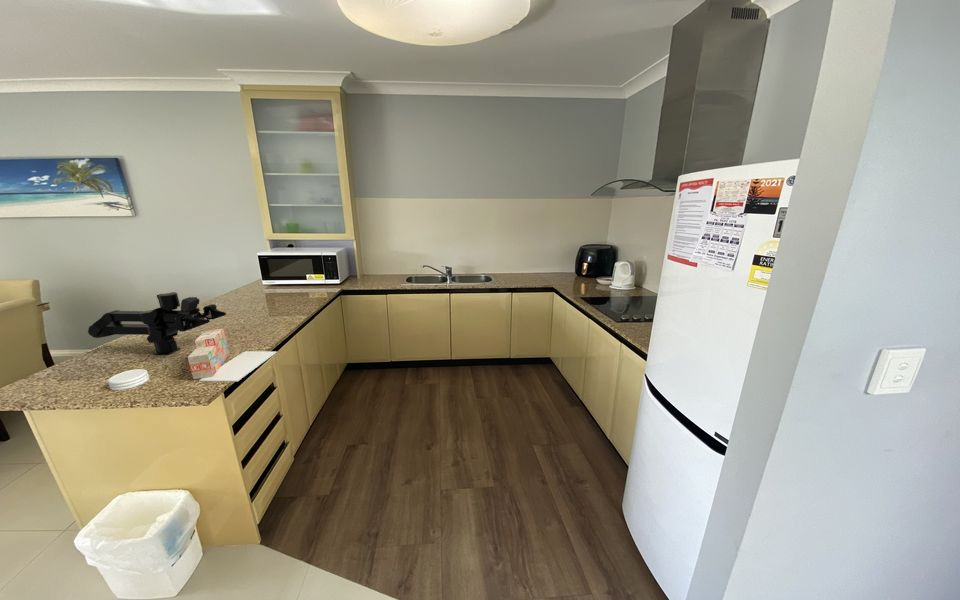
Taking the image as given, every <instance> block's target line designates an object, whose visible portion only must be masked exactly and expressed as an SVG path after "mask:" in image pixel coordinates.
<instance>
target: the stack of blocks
mask: <svg viewBox="0 0 960 600" xmlns="http://www.w3.org/2000/svg"><path fill="white" fill-rule="evenodd" d="M194 342H195V346H196V348H195V349H194V350H193V351H192V352H191V353H190V354H189V355H188V356H187V360H188V364H189V368H190V372H191V374H192V375H191V376H192V379H193V380H198V379H202V378H204V377H210V376H213V375H214V374H215V373H216V372H217V370H218V369H219V368H220V367H221V366H222V365H224V362H225V361H226V360H227V359H228V357H230V355H231V352H230V349H229V346H228V341H227V336H226V333H225V329H224V328H218V329H210V330H209V329H207V330H205V331H204V332H202V333H201V334H200V335H199V336H198V337H197V338H196V339H195V340H194Z"/></svg>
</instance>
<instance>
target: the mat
mask: <svg viewBox="0 0 960 600" xmlns="http://www.w3.org/2000/svg"><path fill="white" fill-rule="evenodd" d="M275 354H277V351H264V350H263V351H255V350H253V351H251V350H249V351H247V350H246V351H243V352H241V353H240V354H238V355H237V356H235V357H233V358H232V359H231V360H229V361H227V362H226V363H223V364H222V365H221V367H220V368H219V369H218V370H217V372H216V373H215V374H214V375H213V376H210V377H203V378H199V380H198V381H199V382H223V383H224V382H228V383H229V382H230V383H231V382H233V383H235V382H236V383H238V382H239V381H240V380H242V378H245V377H246V376H247V375H248V374H250V373H251V372H252V371H254V370H255V369H256V368H258V367H260V365H262V364H263V363H264V362H266V361H267V360H269V359H270V358H271V357H272V356H274V355H275Z"/></svg>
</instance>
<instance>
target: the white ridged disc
mask: <svg viewBox="0 0 960 600" xmlns="http://www.w3.org/2000/svg"><path fill="white" fill-rule="evenodd" d="M149 380H150V376H149V372H148V370H146V369H144V368H143V369H142V368H136V369H129V370H126V371H123V372H119V373H117V374H114V375H112V376H111V377H110V378H108V380H107V384H108V386H109V389H110V390H112V391H123V390H130V389H133V388H136V387H139V386H141V385H144V384H145V383H148V381H149Z"/></svg>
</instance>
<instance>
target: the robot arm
mask: <svg viewBox="0 0 960 600" xmlns="http://www.w3.org/2000/svg"><path fill="white" fill-rule="evenodd" d="M156 298H157V300H158V303H159V304H158V305H159V307H157V308H154V309H150V310H142V311H141V310H140V311H139V310H119V309H118V310H112V311H108V312H105V313H103V315H102V316H101V318H99V319H97V321H94V322H93V323H92V324H91V325H89V327H88V330H87V334H88V335H89V336H91V337H92V338H95V339H100V338H106V337H111V336H114V335H119V336H120V335H126V336H128V335H133V336H135V335H136V336H141V335H142V336H147V337H146V340H147V342H148V343H150V344H151V343H152V344H154V349H155V352H154V353H152V354H153V355H154V356H155V355H156V356H158V355H161V356H162V355H165V356H166V355H167V356H168V355H170V354H173V353H175V352H176V351H180V349H181V347H178V345H177V342H176V340H175V337H176V336H178V332H187V331H190V330H192V329H195V328H197V327H198V328H199V327H201V326H203V325H206V324H209V323H210V322H211V320H216V319H219V318H222V317H224V316H225V317H226V315H227V313H226V312H224V311H221V310H219V309H217V305H216V304H214V303H213V304H212V303H210V304H207V305H205V306H204V307H203V309H202V310H203V312H200V308H199V307H198V305H199V304H200V299H199V298H197V296H189V297H186V298H183V299H182V300H181V303H180V299H179V294H178V292H176V291H175V292H173V291H172V292H166V293H160V294H157V295H156ZM178 307H179V308H180V309H178ZM177 309H178V310H177ZM122 322H127V323H122ZM128 322H129V323H128ZM133 322H139V323H135V324H134V323H133Z"/></svg>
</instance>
